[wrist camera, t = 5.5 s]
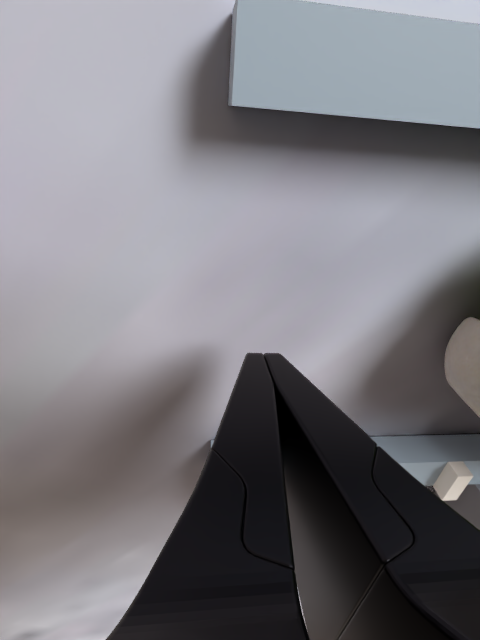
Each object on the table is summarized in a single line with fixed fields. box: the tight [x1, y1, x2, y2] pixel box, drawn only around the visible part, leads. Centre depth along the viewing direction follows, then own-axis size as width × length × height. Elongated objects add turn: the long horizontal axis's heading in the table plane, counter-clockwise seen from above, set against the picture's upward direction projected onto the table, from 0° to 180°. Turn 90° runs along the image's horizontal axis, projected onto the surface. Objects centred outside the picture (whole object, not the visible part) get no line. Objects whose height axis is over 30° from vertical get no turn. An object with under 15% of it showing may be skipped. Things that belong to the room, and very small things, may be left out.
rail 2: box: [210, 434, 480, 501], centre depth 13 cm, size 20×2×2 cm, turn 86°
